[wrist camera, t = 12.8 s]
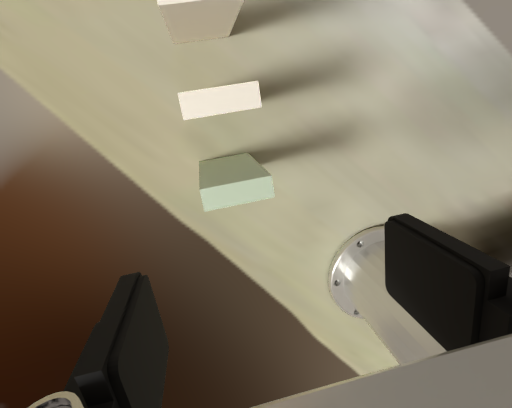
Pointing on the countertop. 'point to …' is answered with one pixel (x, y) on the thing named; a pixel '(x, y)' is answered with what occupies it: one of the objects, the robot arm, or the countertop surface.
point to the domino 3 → (233, 181)
